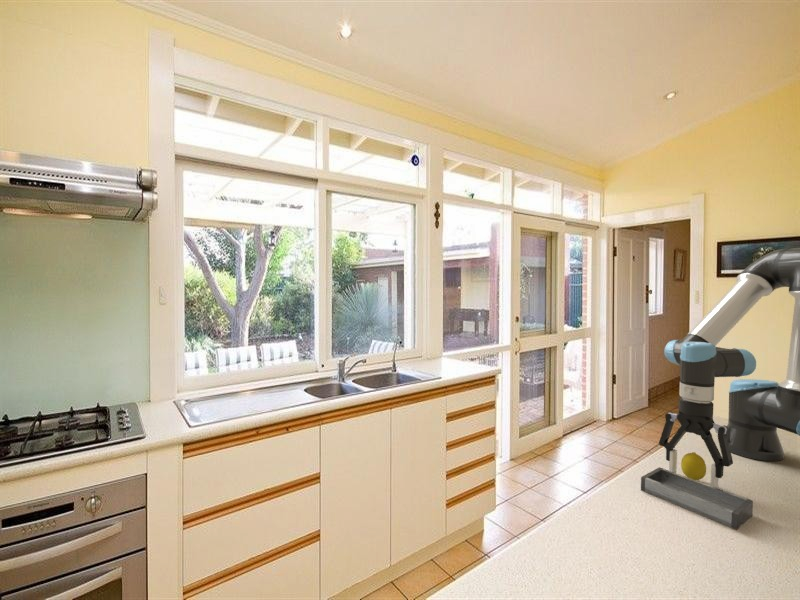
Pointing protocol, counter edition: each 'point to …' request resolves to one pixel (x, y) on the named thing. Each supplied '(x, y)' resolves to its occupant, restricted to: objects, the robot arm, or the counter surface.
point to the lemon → (693, 466)
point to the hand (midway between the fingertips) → (692, 480)
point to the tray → (698, 497)
